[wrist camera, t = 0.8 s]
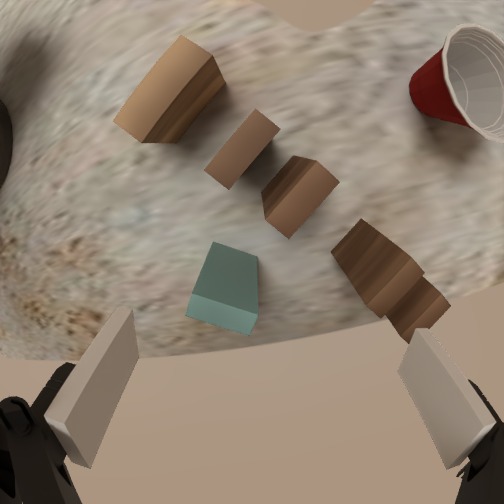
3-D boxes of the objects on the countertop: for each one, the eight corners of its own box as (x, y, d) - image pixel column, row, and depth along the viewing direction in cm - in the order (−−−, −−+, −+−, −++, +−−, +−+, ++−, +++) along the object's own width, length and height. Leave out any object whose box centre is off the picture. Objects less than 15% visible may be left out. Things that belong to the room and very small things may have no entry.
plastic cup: (375, 49, 25) (430, 13, 14) (449, 52, 24) (512, 32, 13) (398, 142, 28) (464, 147, 17) (468, 135, 28) (537, 142, 16)
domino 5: (359, 277, 34) (400, 336, 22) (388, 246, 32) (441, 293, 21) (369, 287, 34) (411, 346, 23) (398, 257, 33) (451, 305, 22)
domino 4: (330, 251, 33) (366, 305, 21) (361, 218, 31) (411, 257, 20) (342, 262, 33) (380, 318, 22) (372, 230, 32) (424, 272, 21)
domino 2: (250, 272, 34) (249, 335, 22) (207, 258, 33) (185, 315, 22) (257, 256, 33) (258, 314, 22) (213, 241, 32) (192, 293, 21)
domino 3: (261, 192, 31) (265, 219, 19) (293, 155, 29) (317, 160, 18) (276, 204, 31) (288, 239, 20) (308, 168, 30) (340, 181, 18)
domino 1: (223, 161, 30) (203, 170, 18) (255, 123, 28) (255, 108, 17) (238, 173, 30) (228, 190, 19) (270, 136, 29) (280, 129, 17)
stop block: (154, 127, 28) (112, 121, 19) (203, 67, 26) (181, 34, 17) (175, 143, 29) (141, 143, 19) (225, 83, 27) (212, 55, 17)
